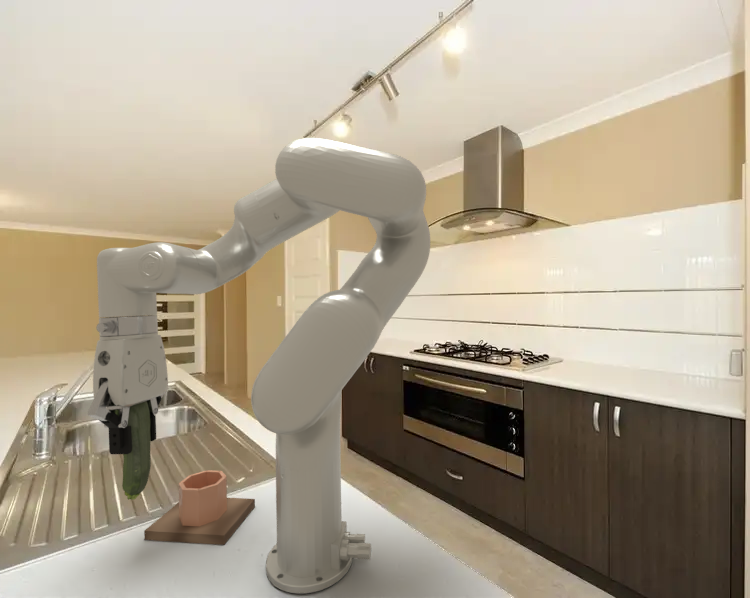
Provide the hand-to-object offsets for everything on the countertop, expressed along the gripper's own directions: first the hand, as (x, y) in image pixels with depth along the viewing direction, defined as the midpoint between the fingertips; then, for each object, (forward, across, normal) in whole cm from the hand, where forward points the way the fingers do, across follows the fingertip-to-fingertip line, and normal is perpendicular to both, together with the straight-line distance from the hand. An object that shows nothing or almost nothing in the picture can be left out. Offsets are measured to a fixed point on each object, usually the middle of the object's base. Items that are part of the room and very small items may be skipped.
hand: (134, 445), depth 56 cm
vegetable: (+9, 0, 0) cm, 9 cm away
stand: (+17, +9, -5) cm, 20 cm away
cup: (+16, +9, -5) cm, 19 cm away
